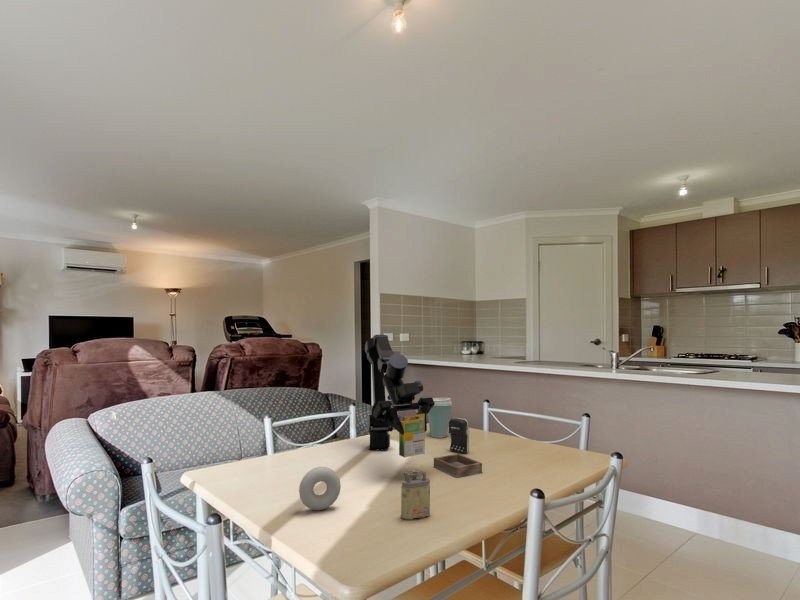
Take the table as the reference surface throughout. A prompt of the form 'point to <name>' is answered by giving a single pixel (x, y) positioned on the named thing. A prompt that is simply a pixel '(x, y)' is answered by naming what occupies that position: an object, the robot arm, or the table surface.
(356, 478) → the table surface
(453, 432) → the black upright block
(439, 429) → the disposable coffee cup
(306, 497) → the donut
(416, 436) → the crayon box
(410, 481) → the lighter
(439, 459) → the tray
